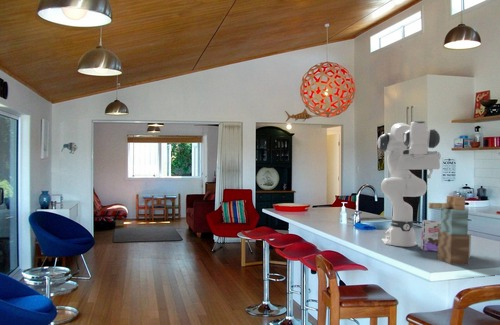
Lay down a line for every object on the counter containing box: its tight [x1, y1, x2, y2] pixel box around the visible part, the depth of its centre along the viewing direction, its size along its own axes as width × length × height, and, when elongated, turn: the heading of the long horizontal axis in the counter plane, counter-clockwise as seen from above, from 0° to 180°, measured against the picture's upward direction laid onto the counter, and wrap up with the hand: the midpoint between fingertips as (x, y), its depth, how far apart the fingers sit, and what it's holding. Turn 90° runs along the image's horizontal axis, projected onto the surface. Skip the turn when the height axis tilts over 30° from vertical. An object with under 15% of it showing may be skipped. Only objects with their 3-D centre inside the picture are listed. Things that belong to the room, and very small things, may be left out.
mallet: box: [427, 195, 466, 210], centre depth 237 cm, size 8×16×6 cm, turn 96°
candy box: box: [420, 219, 441, 252], centre depth 264 cm, size 14×6×16 cm, turn 82°
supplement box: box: [467, 231, 472, 259], centre depth 251 cm, size 7×7×13 cm
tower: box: [436, 209, 470, 265], centre depth 238 cm, size 13×9×26 cm
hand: (419, 178), depth 248 cm, fingers open, 8 cm apart
